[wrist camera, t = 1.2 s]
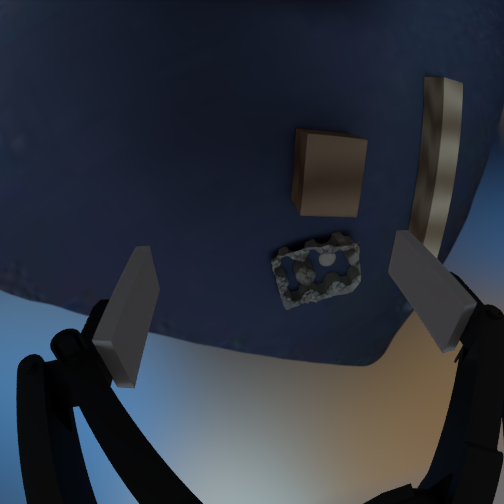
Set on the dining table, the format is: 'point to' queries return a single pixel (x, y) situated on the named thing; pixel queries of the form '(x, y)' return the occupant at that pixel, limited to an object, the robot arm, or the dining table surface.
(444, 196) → the board
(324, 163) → the block
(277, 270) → the egg carton
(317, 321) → the dining table surface
